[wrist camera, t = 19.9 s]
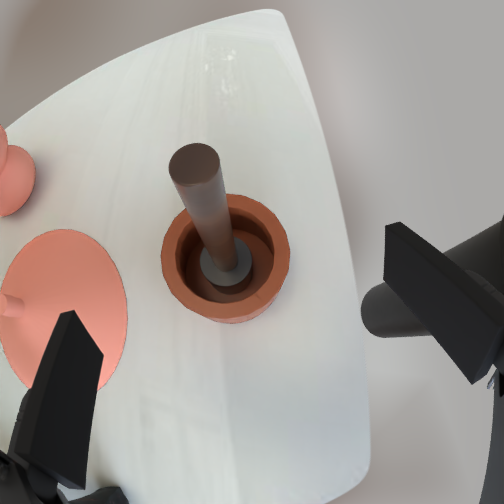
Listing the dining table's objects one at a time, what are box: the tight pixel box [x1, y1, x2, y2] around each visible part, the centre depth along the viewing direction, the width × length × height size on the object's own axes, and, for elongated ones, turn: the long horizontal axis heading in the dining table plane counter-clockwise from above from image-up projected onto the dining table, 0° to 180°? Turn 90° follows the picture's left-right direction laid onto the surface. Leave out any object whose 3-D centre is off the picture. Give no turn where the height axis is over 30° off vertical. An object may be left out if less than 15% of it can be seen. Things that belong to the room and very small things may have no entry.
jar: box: [161, 194, 290, 324], centre depth 27 cm, size 10×10×8 cm
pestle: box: [169, 143, 252, 295], centre depth 21 cm, size 4×4×20 cm
